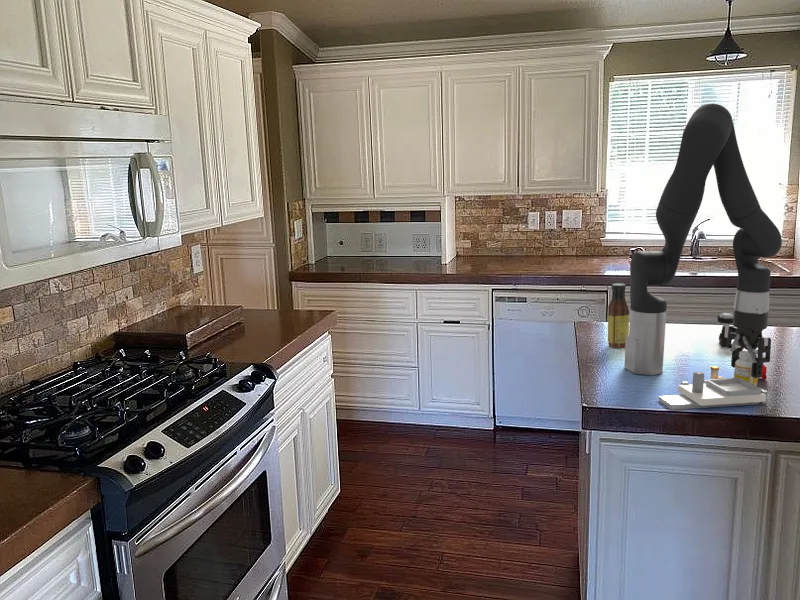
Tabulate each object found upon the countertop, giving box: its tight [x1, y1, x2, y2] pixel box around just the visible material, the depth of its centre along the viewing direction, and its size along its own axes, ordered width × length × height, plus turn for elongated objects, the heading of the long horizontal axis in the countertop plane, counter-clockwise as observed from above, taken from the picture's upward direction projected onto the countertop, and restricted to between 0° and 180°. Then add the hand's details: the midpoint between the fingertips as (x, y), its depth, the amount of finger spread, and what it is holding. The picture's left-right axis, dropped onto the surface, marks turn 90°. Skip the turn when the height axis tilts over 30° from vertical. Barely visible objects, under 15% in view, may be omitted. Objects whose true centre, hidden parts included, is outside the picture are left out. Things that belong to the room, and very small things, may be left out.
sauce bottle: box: [607, 282, 630, 350], centre depth 205 cm, size 7×6×20 cm
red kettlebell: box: [757, 363, 768, 384], centre depth 172 cm, size 8×6×6 cm
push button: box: [716, 312, 734, 348], centre depth 205 cm, size 7×5×10 cm
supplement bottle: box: [733, 350, 759, 387], centre depth 165 cm, size 5×5×10 cm
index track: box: [658, 365, 768, 411], centre depth 160 cm, size 24×12×6 cm, turn 97°
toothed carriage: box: [677, 371, 766, 406], centre depth 158 cm, size 16×11×6 cm
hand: (745, 372), depth 165 cm, fingers open, 8 cm apart
